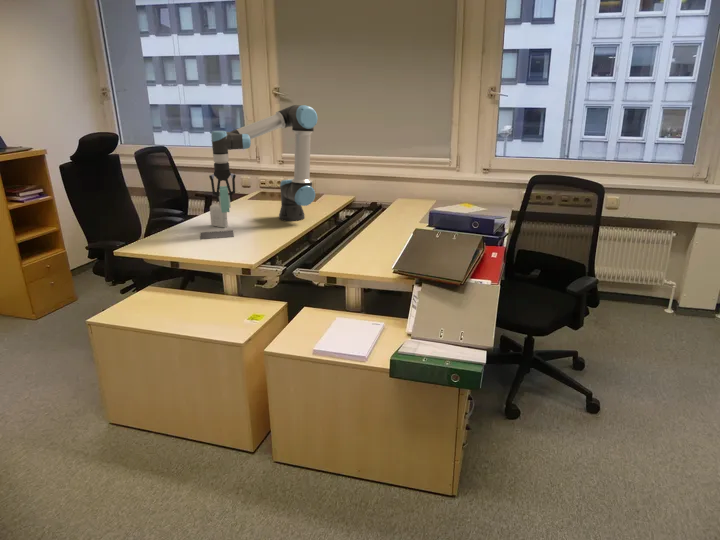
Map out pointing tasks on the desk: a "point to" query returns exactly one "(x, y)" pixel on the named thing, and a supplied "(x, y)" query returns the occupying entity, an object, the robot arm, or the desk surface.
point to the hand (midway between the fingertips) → (225, 207)
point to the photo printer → (218, 216)
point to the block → (224, 199)
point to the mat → (216, 234)
